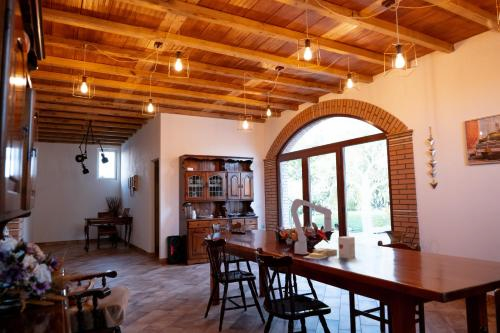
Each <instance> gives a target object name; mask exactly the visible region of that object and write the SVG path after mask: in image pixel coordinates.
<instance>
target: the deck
mask: <svg viewBox="0 0 500 333" xmlns="http://www.w3.org/2000/svg"><path fill="white" fill-rule="evenodd" d="M312 253H319V254H324V256H328V257H327V258H330V257H334V256H337V255H338V249H335V248H325V247H319V248H315V249H312Z"/></svg>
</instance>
